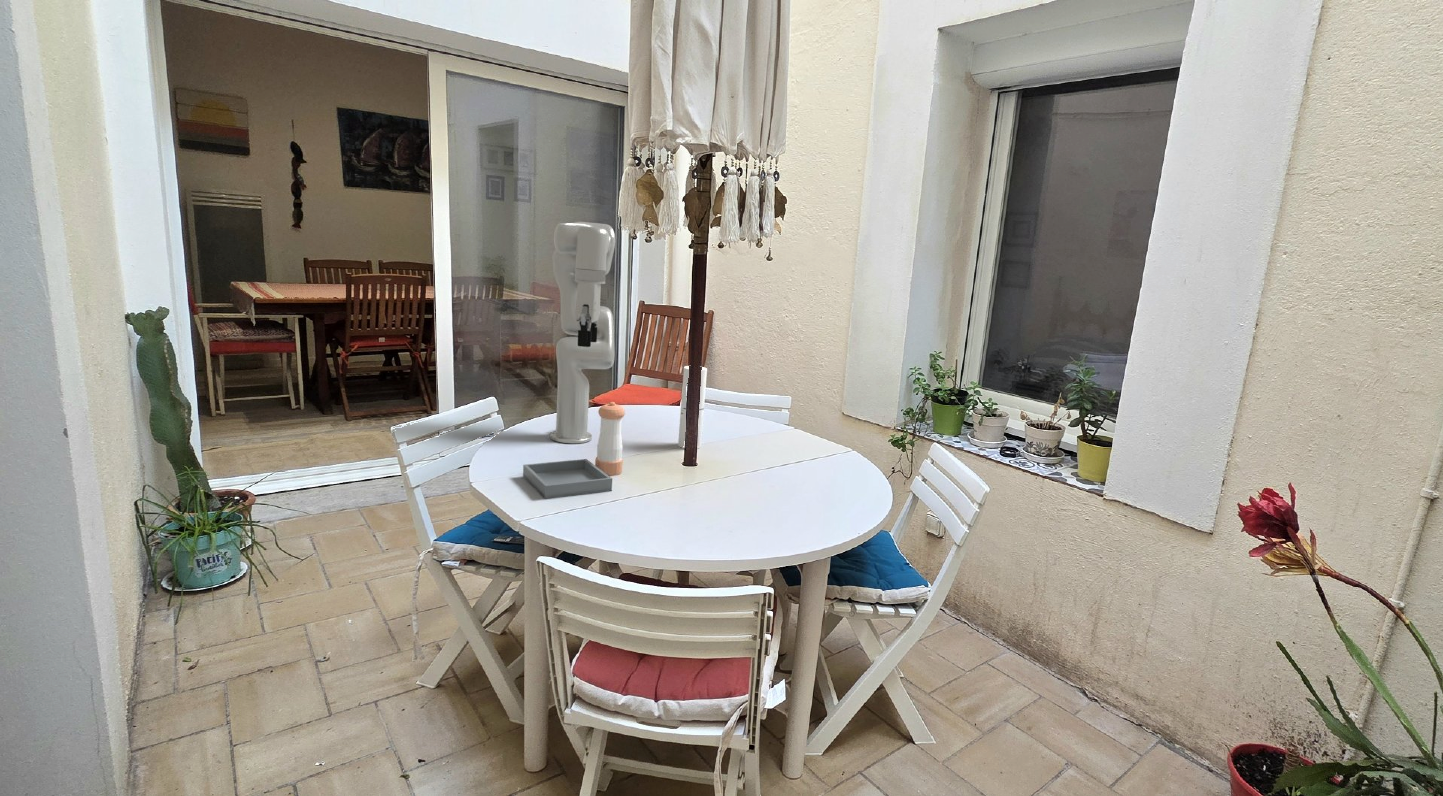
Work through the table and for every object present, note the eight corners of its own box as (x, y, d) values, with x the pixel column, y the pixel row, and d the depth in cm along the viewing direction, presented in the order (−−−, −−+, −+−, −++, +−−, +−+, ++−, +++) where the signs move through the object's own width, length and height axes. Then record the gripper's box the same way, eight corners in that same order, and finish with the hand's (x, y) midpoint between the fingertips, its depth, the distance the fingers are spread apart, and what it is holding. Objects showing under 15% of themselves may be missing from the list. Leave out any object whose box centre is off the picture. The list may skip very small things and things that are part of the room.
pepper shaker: (617, 466, 194) (621, 398, 190) (625, 474, 187) (629, 405, 184) (591, 467, 191) (595, 399, 187) (598, 476, 184) (602, 405, 180)
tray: (523, 476, 179) (523, 464, 178) (585, 470, 188) (586, 458, 187) (545, 498, 165) (545, 485, 164) (611, 490, 174) (612, 478, 174)
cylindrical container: (690, 450, 215) (697, 370, 210) (673, 445, 219) (679, 367, 214) (705, 447, 220) (711, 369, 215) (687, 441, 225) (694, 365, 220)
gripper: (581, 274, 185) (578, 339, 188) (568, 276, 168) (566, 347, 171) (610, 277, 185) (606, 341, 189) (600, 279, 168) (596, 349, 172)
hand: (587, 344), depth 180 cm, fingers open, 9 cm apart
